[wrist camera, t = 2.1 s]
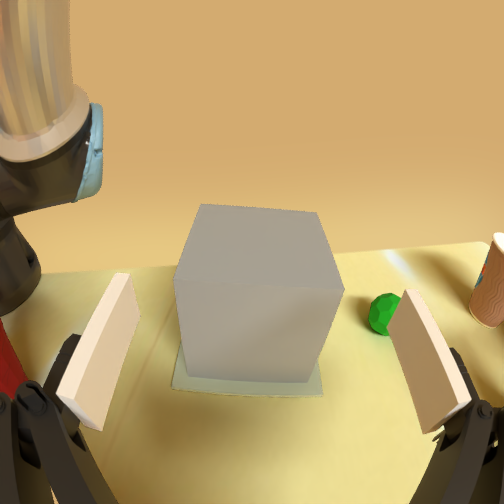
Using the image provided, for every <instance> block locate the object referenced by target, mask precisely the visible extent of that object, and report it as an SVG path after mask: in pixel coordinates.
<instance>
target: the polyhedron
mask: <svg viewBox="0 0 504 504" xmlns="http://www.w3.org/2000/svg"><path fill="white" fill-rule="evenodd" d="M400 300H401V298H400V297H398V296H396V295H395V294H392V293H387V294H382V295H380V296H378V297H377V298H376V299H375V300H374V301H373V302H372V303H371V308H370V313H369V318H368V321H369V323H370V325H371V328H373V329H374V330H375V331H377V332H378V333H380V334H382V335H384V336H390V335H389V332H388V330H387V326H388V324H389V322H390V320H391V318H392V316H393V314H394V312H395V310H396V308H397V306H398V304H399V302H400Z"/></svg>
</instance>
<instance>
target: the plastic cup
mask: <svg viewBox="0 0 504 504" xmlns="http://www.w3.org/2000/svg"><path fill="white" fill-rule="evenodd" d="M25 381H29V380H28V378H27V377H26V375H25V373H24V371H23V369H22V366H21V364H20V362H19V360H18V358H17V356H16V354H15V352H14V350H13V348H12V346H11V343H10V341H9V339H8V337H7V335H6V332H5V330H4V328H3V323H2V321H1V318H0V392H4V393H5V394H7V395H8V396H9V397H10V398H11V399H14V395H15V392H16V389H17V388H18V386H19V385H20V384H21V383H23V382H25Z"/></svg>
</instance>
